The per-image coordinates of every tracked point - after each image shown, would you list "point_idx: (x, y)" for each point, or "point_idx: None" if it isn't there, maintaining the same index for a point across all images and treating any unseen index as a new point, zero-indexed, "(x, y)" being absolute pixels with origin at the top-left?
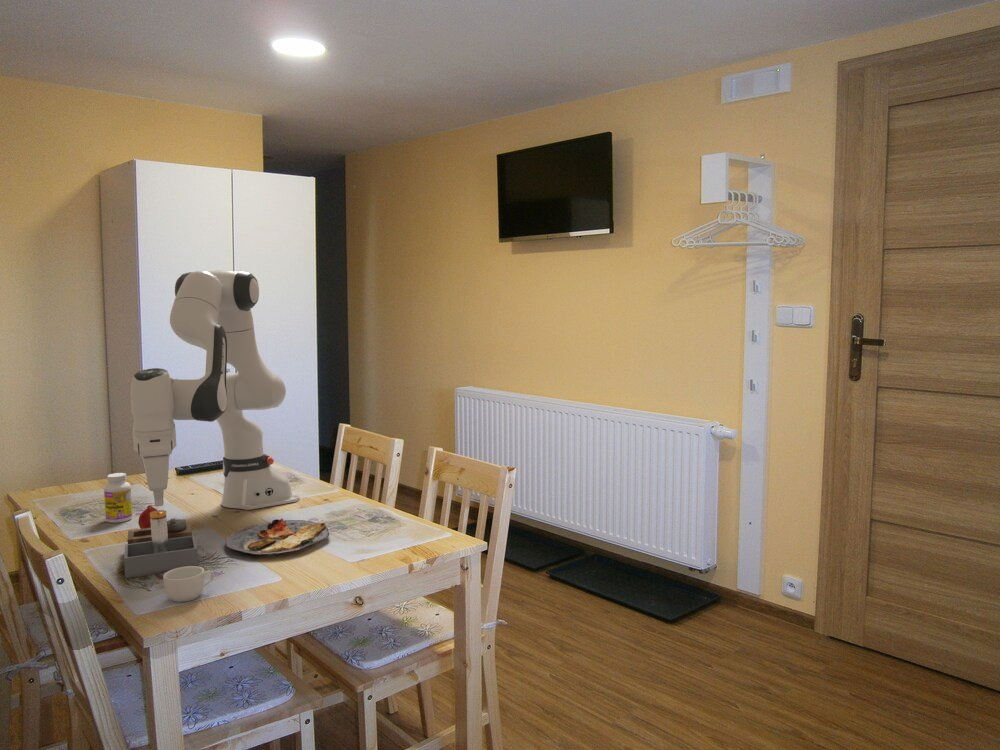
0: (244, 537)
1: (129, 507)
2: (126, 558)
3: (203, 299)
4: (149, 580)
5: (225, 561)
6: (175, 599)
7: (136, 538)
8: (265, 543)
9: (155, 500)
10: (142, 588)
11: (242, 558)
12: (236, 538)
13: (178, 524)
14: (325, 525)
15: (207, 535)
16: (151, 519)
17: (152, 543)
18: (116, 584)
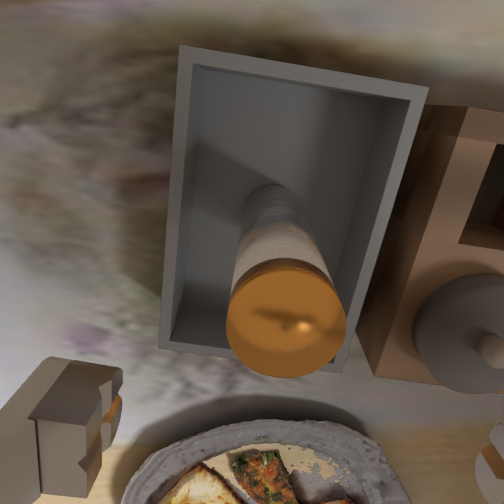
0: (367, 468)
1: None
2: (179, 57)
3: None
4: (124, 140)
5: (189, 380)
6: None
7: (459, 154)
8: (252, 494)
9: (11, 406)
10: (44, 101)
11: (189, 419)
12: (356, 452)
13: (442, 359)
14: None
15: (496, 395)
16: (263, 261)
17: (270, 207)
18: (139, 8)
